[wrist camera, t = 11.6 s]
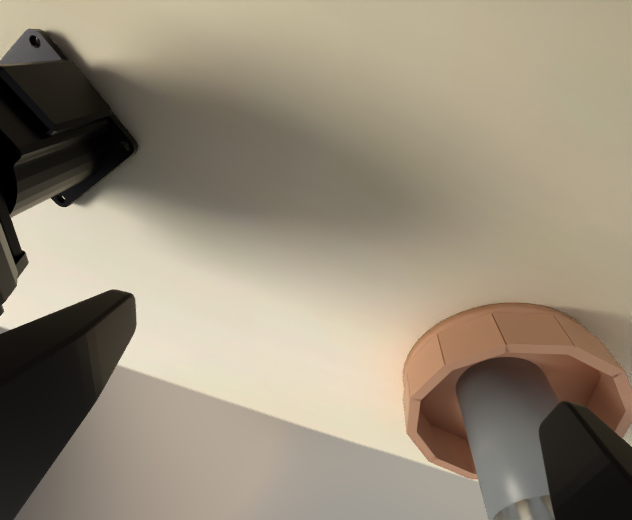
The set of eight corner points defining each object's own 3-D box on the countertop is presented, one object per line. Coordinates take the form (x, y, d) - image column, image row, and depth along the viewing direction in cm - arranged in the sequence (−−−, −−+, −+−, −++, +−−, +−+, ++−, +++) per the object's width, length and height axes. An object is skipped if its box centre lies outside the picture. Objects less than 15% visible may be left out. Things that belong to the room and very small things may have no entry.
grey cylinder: (454, 415, 26) (492, 575, 18) (456, 358, 23) (502, 517, 15) (540, 415, 25) (619, 584, 17) (553, 355, 22) (653, 523, 14)
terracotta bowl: (446, 449, 29) (456, 495, 26) (370, 346, 25) (371, 389, 22) (620, 405, 25) (655, 455, 22) (567, 271, 20) (602, 310, 17)
